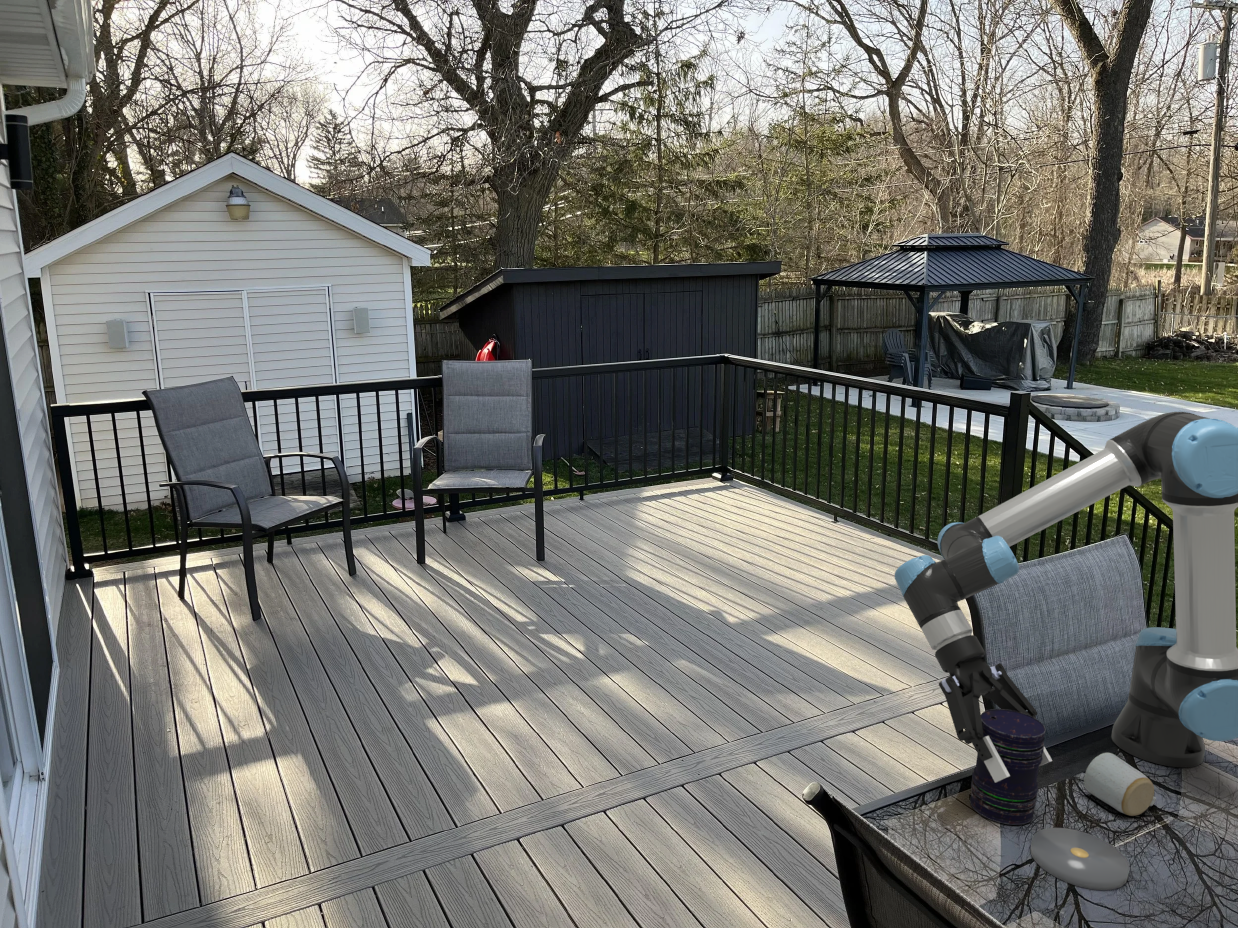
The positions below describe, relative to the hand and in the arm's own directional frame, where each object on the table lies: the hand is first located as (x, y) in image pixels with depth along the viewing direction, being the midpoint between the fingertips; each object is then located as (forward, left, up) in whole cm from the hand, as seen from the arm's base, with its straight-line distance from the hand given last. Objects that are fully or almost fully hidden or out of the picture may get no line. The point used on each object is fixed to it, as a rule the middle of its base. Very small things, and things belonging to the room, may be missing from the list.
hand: (1024, 771), depth 146 cm
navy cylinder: (+3, -2, -8) cm, 9 cm away
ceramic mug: (-16, -14, -9) cm, 23 cm away
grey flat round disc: (-8, +8, -8) cm, 14 cm away
